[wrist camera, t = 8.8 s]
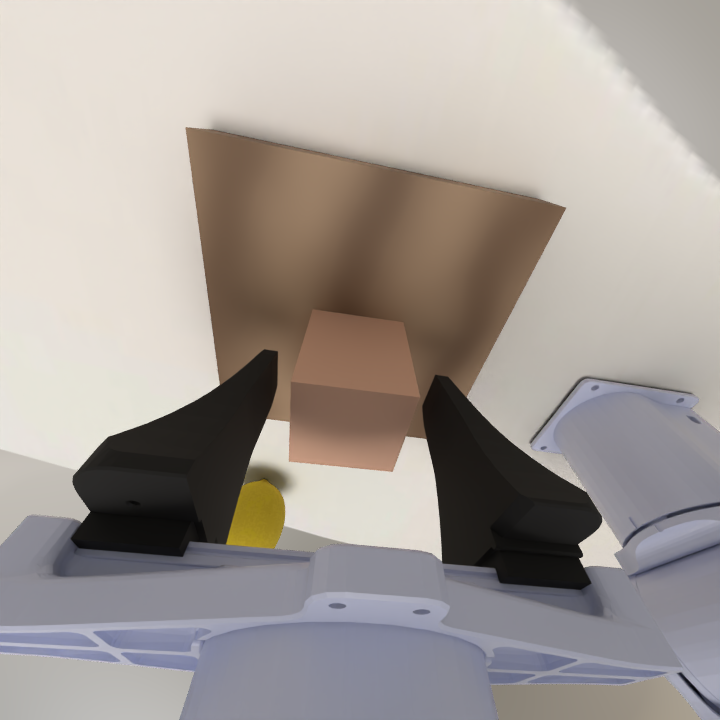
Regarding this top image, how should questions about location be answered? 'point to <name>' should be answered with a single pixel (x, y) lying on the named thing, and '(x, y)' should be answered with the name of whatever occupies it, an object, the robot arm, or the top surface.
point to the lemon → (257, 516)
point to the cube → (352, 392)
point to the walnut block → (356, 256)
